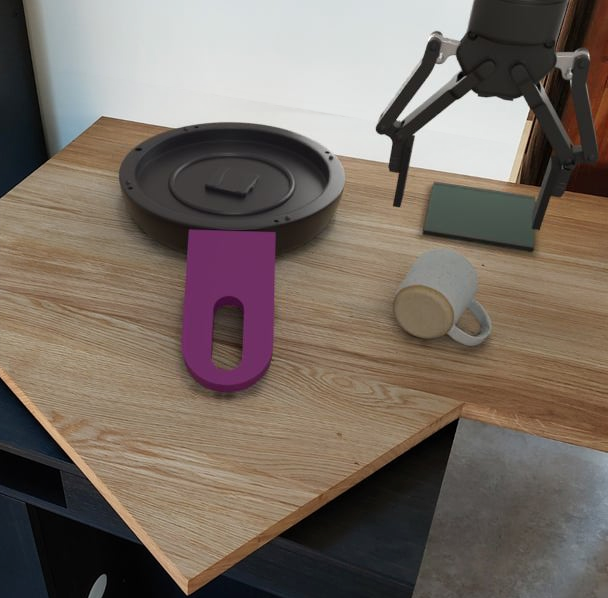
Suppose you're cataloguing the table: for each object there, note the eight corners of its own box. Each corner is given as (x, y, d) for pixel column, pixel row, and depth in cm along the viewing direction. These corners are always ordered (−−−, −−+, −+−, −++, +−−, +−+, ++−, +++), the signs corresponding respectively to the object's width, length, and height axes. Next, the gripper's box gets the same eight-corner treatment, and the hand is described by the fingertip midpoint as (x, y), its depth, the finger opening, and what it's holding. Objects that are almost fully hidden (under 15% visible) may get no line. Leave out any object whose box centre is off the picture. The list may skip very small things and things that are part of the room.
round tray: (363, 178, 114) (176, 143, 122) (369, 139, 110) (174, 106, 117) (303, 289, 93) (81, 238, 101) (307, 246, 89) (76, 197, 97)
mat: (533, 200, 110) (535, 196, 109) (532, 252, 100) (534, 247, 99) (433, 185, 112) (434, 181, 112) (422, 234, 103) (423, 230, 102)
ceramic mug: (383, 331, 87) (395, 274, 82) (407, 293, 92) (420, 238, 87) (476, 363, 84) (494, 306, 78) (496, 322, 89) (515, 266, 84)
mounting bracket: (268, 415, 85) (272, 271, 92) (272, 386, 77) (276, 232, 84) (182, 411, 86) (192, 268, 92) (177, 383, 78) (189, 229, 84)
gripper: (366, -20, 64) (336, 209, 78) (693, 14, 59) (597, 252, 73) (380, -43, 69) (350, 175, 84) (680, -14, 64) (594, 213, 79)
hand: (465, 212), depth 79 cm, fingers open, 13 cm apart
